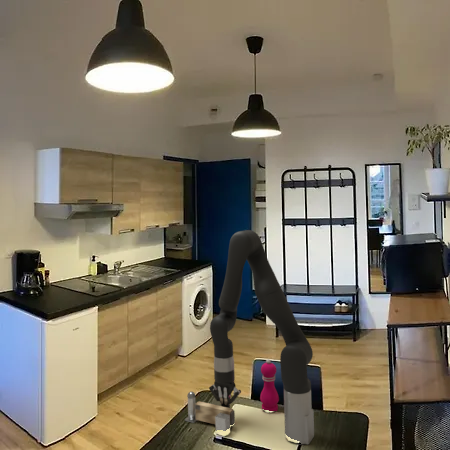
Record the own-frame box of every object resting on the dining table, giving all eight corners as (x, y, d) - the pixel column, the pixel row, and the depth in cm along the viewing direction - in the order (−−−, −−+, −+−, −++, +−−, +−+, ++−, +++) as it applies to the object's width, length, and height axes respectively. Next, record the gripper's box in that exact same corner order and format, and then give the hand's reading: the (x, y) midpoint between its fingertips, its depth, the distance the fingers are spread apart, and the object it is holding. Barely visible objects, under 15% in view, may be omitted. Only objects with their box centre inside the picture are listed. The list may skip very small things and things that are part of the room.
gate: (195, 419, 162) (194, 404, 162) (199, 416, 165) (198, 401, 164) (231, 428, 155) (231, 412, 155) (235, 425, 157) (234, 408, 157)
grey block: (230, 432, 155) (230, 414, 154) (225, 437, 151) (225, 419, 151) (221, 429, 157) (220, 411, 156) (215, 434, 153) (215, 416, 153)
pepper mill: (278, 414, 166) (276, 363, 165) (259, 413, 168) (257, 362, 166) (279, 405, 173) (278, 356, 172) (261, 404, 175) (260, 355, 174)
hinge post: (199, 418, 165) (198, 390, 165) (193, 423, 162) (192, 395, 161) (190, 415, 167) (189, 388, 167) (184, 420, 164) (183, 392, 163)
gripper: (244, 366, 162) (246, 411, 163) (213, 361, 168) (215, 405, 169) (235, 374, 155) (236, 421, 156) (203, 368, 162) (205, 413, 163)
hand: (225, 412), depth 163 cm, fingers closed
